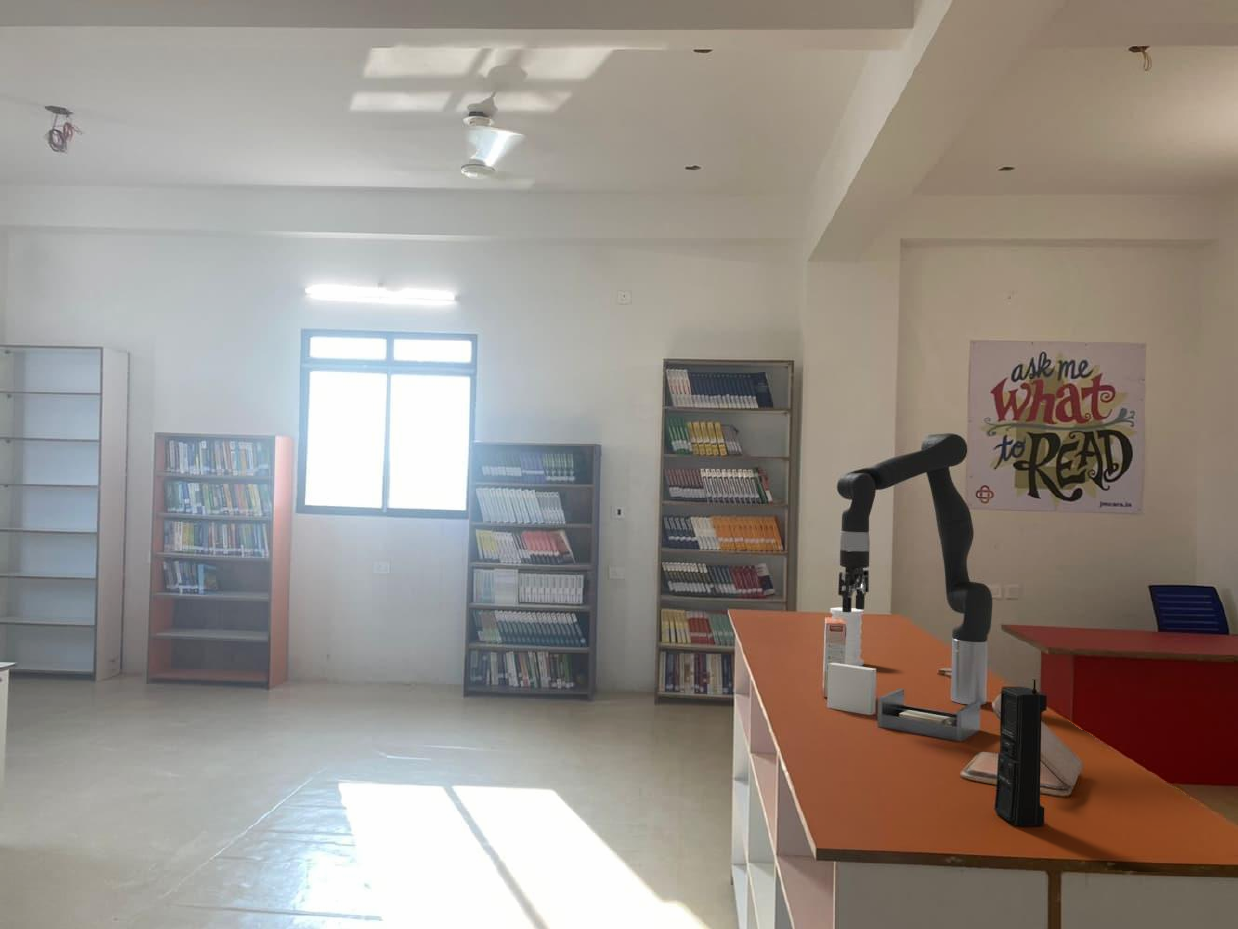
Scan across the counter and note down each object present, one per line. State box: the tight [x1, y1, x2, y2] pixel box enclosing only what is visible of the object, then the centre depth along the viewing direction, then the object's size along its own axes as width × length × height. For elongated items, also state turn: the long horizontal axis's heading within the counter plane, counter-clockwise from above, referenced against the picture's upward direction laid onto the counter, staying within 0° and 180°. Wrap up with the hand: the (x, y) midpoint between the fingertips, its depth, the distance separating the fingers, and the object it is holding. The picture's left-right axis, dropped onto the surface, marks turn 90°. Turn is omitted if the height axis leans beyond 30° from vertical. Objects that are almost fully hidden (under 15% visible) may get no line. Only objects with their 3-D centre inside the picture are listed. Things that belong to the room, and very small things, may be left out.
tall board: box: [826, 663, 877, 716], centre depth 246 cm, size 3×12×12 cm, turn 53°
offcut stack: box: [899, 710, 952, 726], centre depth 227 cm, size 6×11×4 cm, turn 53°
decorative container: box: [829, 606, 864, 667], centre depth 317 cm, size 12×12×18 cm
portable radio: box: [993, 679, 1048, 827], centre depth 166 cm, size 8×6×25 cm
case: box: [959, 693, 1084, 798], centre depth 191 cm, size 20×21×16 cm
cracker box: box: [822, 616, 846, 699], centre depth 266 cm, size 14×6×21 cm, turn 168°
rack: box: [877, 688, 982, 742], centre depth 229 cm, size 15×20×7 cm
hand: (853, 610), depth 247 cm, fingers open, 8 cm apart
